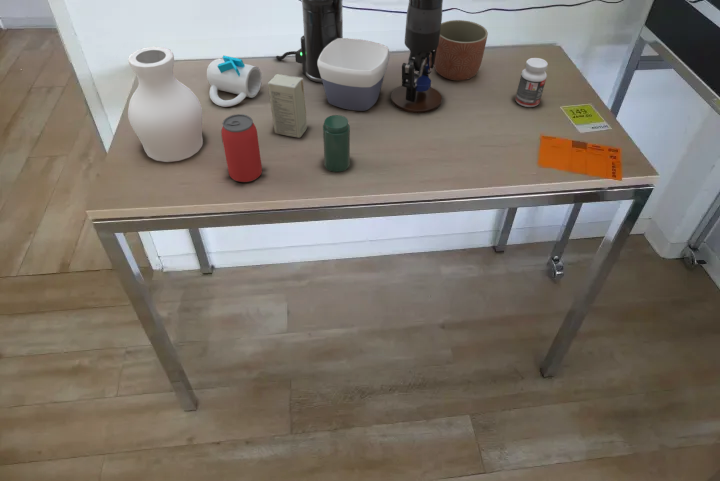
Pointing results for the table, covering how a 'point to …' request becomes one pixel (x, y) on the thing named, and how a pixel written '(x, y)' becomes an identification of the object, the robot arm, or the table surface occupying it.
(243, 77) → the mug
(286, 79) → the cosmetic box
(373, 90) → the bowl
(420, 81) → the lid
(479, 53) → the planter
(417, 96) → the trivet
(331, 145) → the jar
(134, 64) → the vase
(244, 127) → the beer can
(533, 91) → the pill bottle
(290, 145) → the table surface
